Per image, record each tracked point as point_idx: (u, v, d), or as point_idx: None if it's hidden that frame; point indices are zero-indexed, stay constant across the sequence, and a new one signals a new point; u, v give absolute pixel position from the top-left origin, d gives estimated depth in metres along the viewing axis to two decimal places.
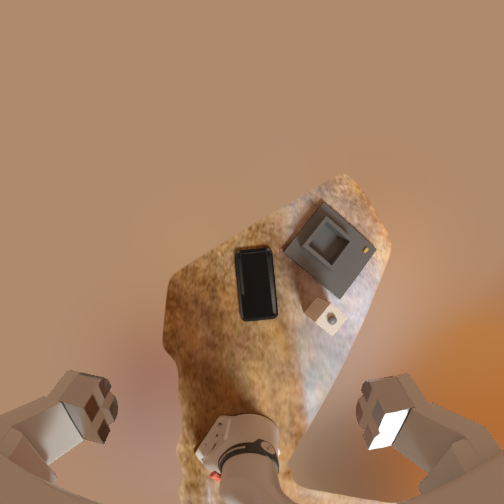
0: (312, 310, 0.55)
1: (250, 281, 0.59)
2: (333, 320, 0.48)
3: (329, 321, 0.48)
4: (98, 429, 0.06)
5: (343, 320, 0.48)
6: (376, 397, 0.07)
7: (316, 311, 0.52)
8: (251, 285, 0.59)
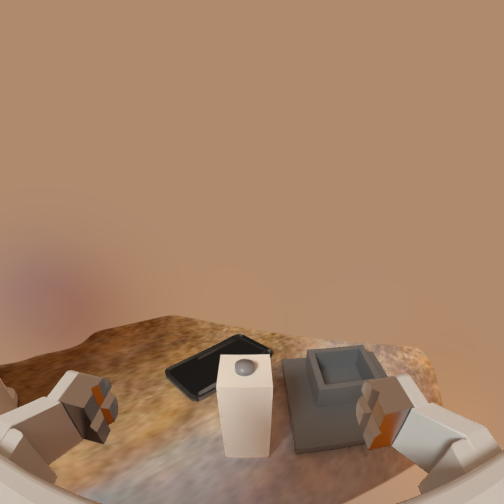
0: None
1: (219, 356, 0.40)
2: (246, 365, 0.22)
3: (238, 361, 0.22)
4: (98, 429, 0.06)
5: (260, 384, 0.20)
6: (376, 397, 0.07)
7: None
8: (215, 359, 0.39)
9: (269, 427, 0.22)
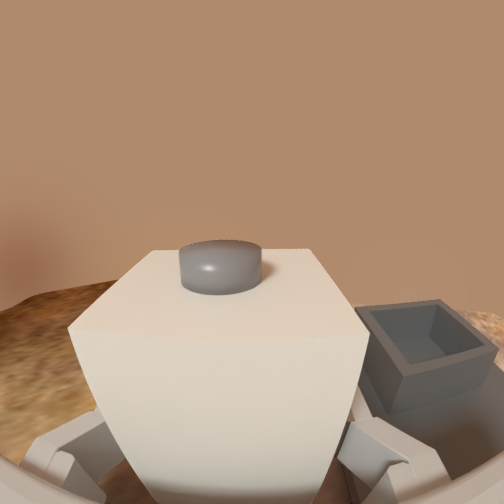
0: None
1: None
2: (228, 250, 0.05)
3: (198, 244, 0.06)
4: None
5: (301, 323, 0.04)
6: None
7: None
8: None
9: (311, 497, 0.05)
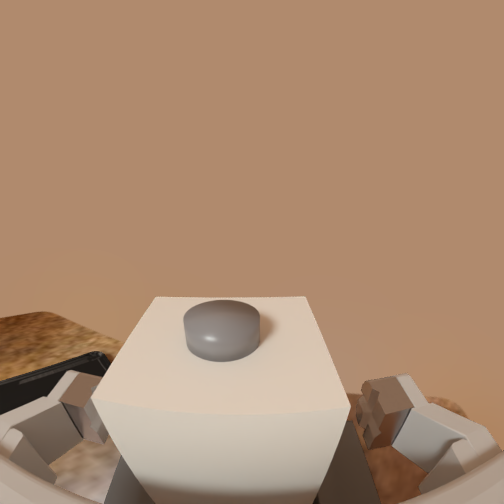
0: None
1: (45, 386, 0.16)
2: (229, 318, 0.06)
3: (200, 307, 0.06)
4: (98, 429, 0.06)
5: (292, 397, 0.04)
6: (376, 397, 0.07)
7: None
8: (38, 390, 0.15)
9: None
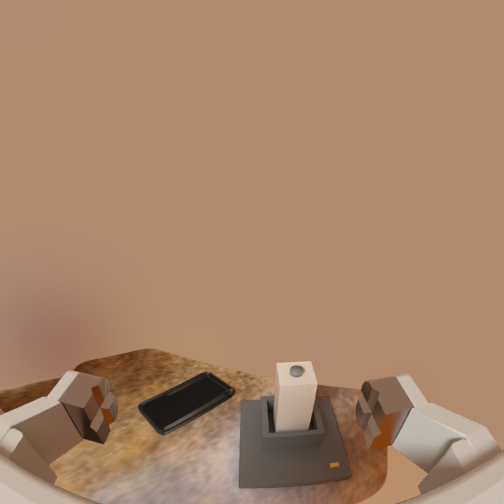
0: None
1: (185, 394, 0.42)
2: (298, 369, 0.31)
3: (292, 367, 0.32)
4: (98, 429, 0.06)
5: (309, 382, 0.30)
6: (376, 397, 0.07)
7: None
8: (182, 396, 0.41)
9: (310, 413, 0.31)
